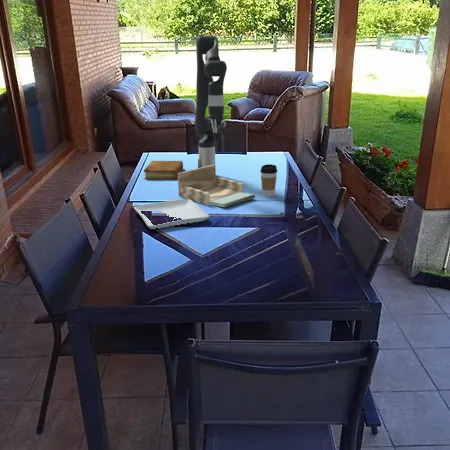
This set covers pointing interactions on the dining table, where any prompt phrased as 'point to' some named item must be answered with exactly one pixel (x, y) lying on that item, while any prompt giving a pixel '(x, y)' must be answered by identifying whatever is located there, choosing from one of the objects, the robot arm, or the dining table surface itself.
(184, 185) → the tray
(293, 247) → the dining table surface
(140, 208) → the square plate
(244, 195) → the panel
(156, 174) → the diary
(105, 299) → the dining table surface
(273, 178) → the coffee cup
